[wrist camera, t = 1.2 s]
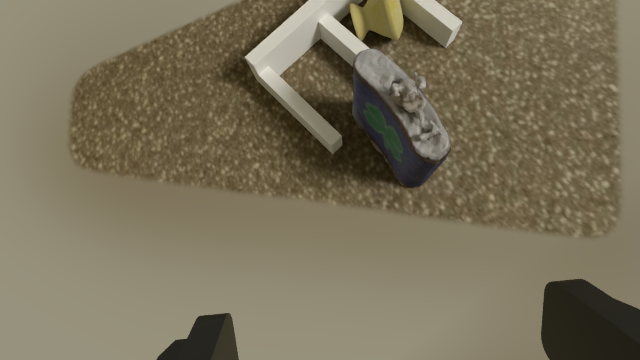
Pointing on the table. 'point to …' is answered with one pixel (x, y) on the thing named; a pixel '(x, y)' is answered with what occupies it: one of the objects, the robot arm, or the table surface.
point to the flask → (398, 118)
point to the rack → (323, 23)
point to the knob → (378, 18)
